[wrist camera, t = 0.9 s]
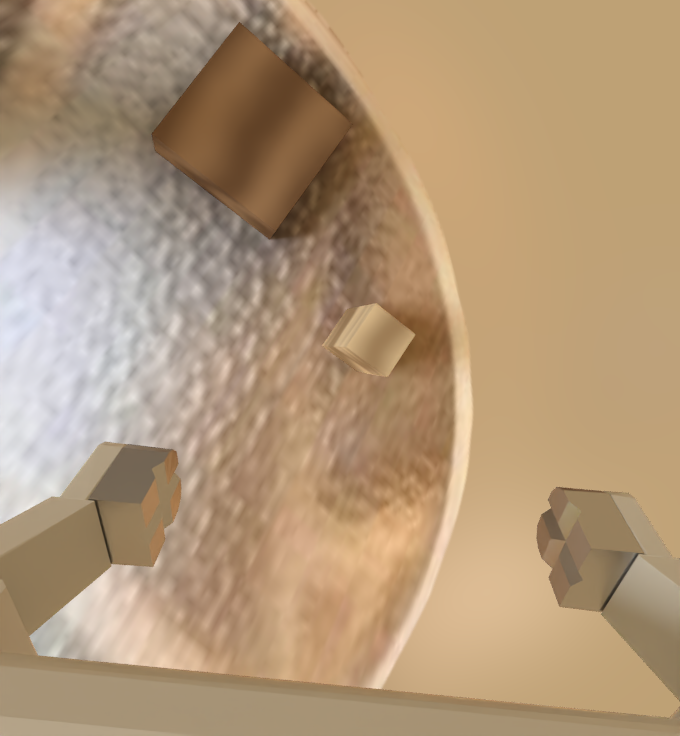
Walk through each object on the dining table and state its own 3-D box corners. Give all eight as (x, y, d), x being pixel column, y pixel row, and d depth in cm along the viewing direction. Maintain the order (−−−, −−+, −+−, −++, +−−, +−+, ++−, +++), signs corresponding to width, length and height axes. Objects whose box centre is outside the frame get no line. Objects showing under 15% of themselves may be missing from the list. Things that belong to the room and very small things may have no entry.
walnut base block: (155, 152, 42) (151, 134, 38) (235, 50, 43) (239, 21, 39) (269, 240, 45) (275, 231, 41) (339, 142, 46) (352, 124, 42)
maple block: (321, 345, 46) (346, 347, 39) (346, 309, 47) (375, 303, 39) (356, 371, 48) (387, 377, 40) (381, 335, 48) (415, 334, 40)
